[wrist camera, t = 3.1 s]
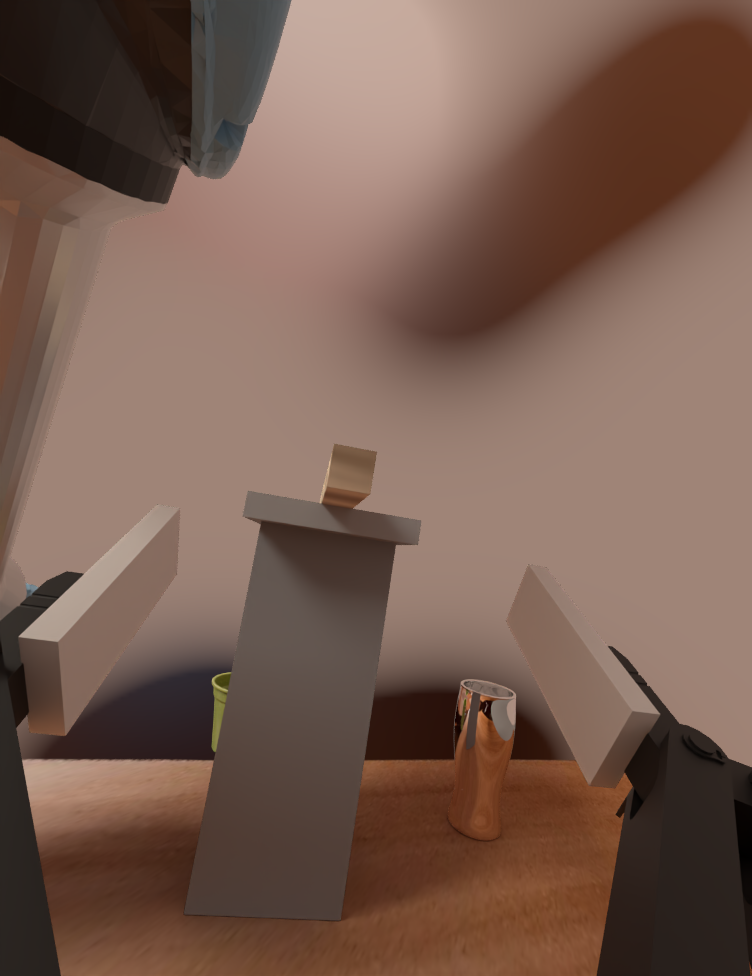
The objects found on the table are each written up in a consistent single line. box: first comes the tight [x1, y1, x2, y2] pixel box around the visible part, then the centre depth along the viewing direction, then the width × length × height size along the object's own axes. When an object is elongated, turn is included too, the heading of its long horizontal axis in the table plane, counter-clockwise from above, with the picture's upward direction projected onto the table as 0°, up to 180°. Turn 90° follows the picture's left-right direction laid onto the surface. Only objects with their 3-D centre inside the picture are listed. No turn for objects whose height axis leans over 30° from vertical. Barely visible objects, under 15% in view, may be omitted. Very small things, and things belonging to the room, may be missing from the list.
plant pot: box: [212, 673, 231, 752], centre depth 59 cm, size 9×9×9 cm
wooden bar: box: [320, 444, 377, 509], centre depth 37 cm, size 26×2×2 cm, turn 9°
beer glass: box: [448, 679, 516, 841], centre depth 50 cm, size 7×7×15 cm
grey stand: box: [184, 491, 421, 921], centre depth 39 cm, size 16×14×32 cm
